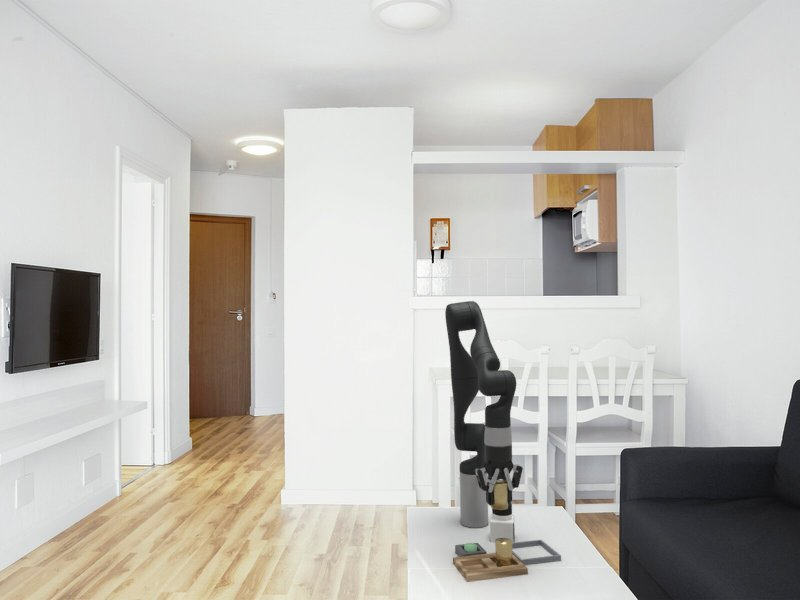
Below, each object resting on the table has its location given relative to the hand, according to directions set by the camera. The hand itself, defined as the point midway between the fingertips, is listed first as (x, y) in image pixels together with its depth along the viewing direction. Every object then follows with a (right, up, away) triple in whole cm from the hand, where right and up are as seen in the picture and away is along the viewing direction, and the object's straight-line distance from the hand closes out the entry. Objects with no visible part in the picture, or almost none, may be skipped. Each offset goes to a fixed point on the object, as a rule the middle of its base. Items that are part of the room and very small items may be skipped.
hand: (499, 503), depth 169 cm
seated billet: (+1, -17, -2) cm, 17 cm away
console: (-7, -18, +6) cm, 20 cm away
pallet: (-3, -18, -3) cm, 18 cm away
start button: (-7, -17, +6) cm, 20 cm away
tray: (+10, -18, +6) cm, 21 cm away
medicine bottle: (+4, -18, +19) cm, 26 cm away
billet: (0, -1, 0) cm, 1 cm away
